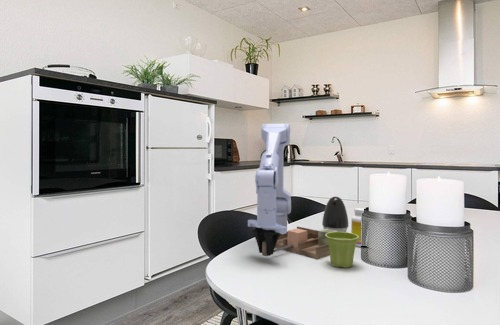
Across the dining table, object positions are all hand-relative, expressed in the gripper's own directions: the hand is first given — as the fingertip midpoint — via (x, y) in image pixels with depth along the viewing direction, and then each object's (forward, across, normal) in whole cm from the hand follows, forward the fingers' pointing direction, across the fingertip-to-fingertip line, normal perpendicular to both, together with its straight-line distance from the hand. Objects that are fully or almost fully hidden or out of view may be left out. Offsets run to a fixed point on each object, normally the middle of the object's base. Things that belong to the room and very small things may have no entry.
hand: (266, 253), depth 106 cm
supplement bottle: (+2, +11, +37) cm, 39 cm away
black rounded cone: (+2, -4, +44) cm, 44 cm away
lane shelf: (+2, 0, +20) cm, 20 cm away
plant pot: (+2, +18, +13) cm, 22 cm away
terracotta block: (0, 0, +8) cm, 8 cm away
